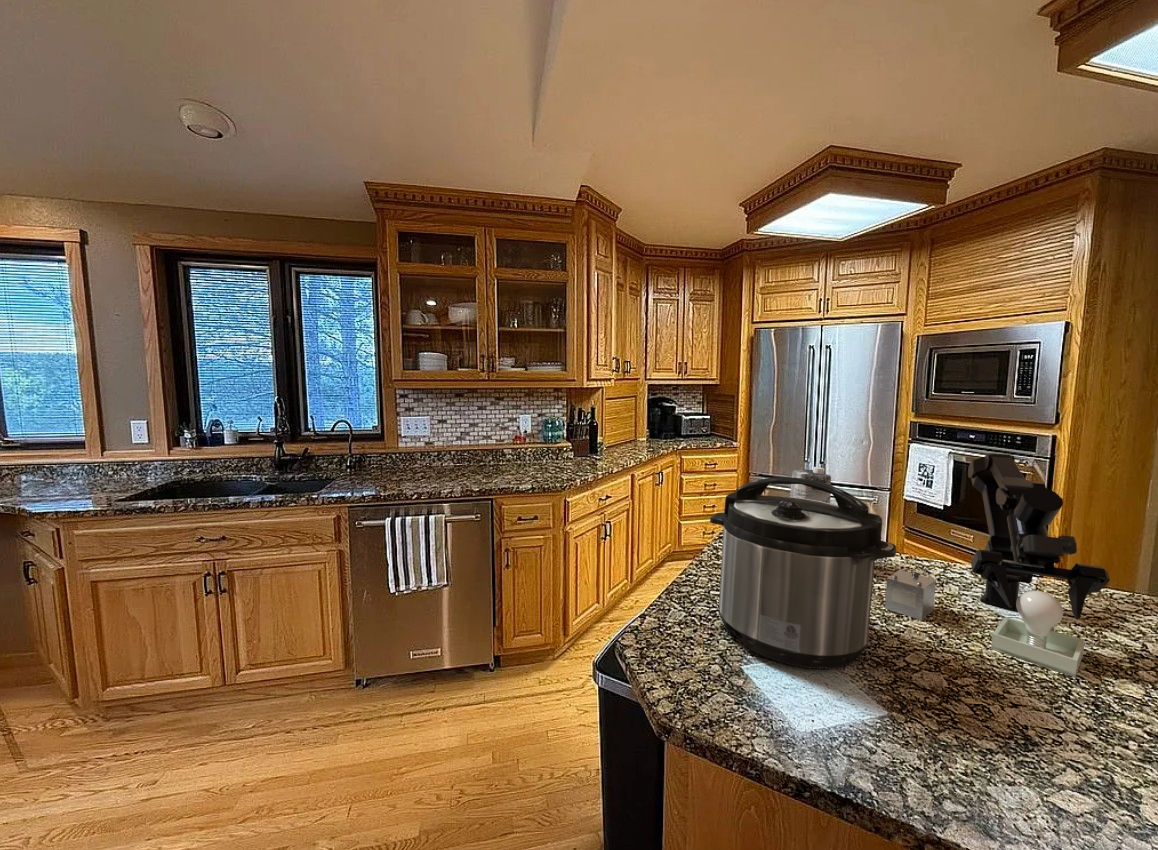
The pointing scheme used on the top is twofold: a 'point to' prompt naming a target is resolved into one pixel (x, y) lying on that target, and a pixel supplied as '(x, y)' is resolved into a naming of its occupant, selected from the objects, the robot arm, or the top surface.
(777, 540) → the pressure cooker
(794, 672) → the top surface
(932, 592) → the block
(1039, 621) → the lightbulb
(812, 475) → the juice carton
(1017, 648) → the tray
